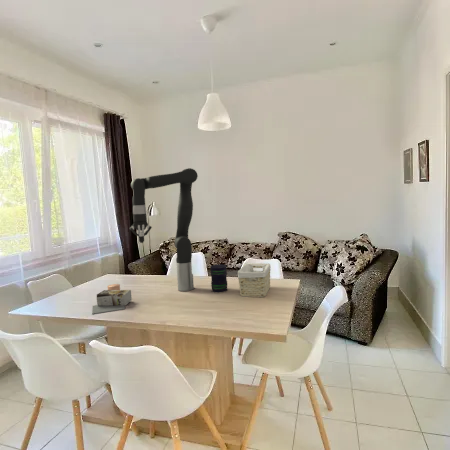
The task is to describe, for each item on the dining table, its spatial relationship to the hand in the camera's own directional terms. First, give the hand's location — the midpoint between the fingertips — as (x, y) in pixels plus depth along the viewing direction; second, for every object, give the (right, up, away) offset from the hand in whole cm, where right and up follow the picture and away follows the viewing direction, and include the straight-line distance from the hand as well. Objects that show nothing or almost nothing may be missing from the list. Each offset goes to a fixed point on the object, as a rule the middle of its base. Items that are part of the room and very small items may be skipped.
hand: (141, 242), depth 192 cm
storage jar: (+46, -30, +8) cm, 55 cm away
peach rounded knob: (-17, -33, +4) cm, 37 cm away
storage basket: (+67, -29, +1) cm, 73 cm away
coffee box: (-4, -30, -11) cm, 32 cm away
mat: (-14, -34, -16) cm, 40 cm away
